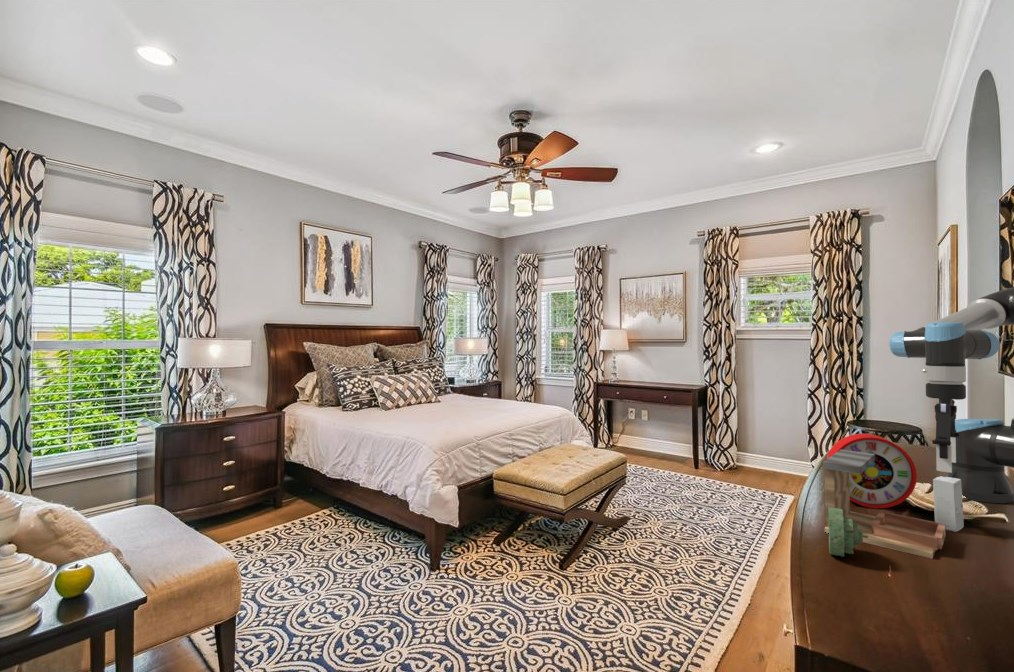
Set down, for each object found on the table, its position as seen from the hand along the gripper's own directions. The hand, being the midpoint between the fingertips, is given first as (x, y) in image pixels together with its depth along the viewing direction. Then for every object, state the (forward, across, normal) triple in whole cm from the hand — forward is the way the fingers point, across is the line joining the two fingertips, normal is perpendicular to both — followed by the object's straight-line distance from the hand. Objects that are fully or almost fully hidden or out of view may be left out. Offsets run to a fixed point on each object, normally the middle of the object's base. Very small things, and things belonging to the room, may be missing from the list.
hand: (946, 466), depth 120 cm
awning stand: (+16, +17, -10) cm, 25 cm away
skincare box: (+16, 0, 0) cm, 16 cm away
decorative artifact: (+16, +37, -14) cm, 42 cm away
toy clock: (+16, -6, -17) cm, 24 cm away
